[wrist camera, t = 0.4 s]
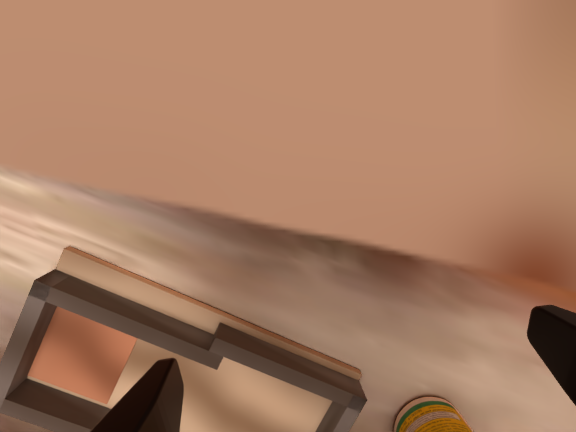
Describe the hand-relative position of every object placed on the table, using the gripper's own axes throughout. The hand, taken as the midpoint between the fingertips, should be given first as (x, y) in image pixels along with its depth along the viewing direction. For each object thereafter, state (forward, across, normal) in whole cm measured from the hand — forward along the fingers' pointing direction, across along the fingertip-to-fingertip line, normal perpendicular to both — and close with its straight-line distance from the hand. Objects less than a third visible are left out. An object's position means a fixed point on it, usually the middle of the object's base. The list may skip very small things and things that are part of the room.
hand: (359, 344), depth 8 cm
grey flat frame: (+12, +9, +13) cm, 20 cm away
